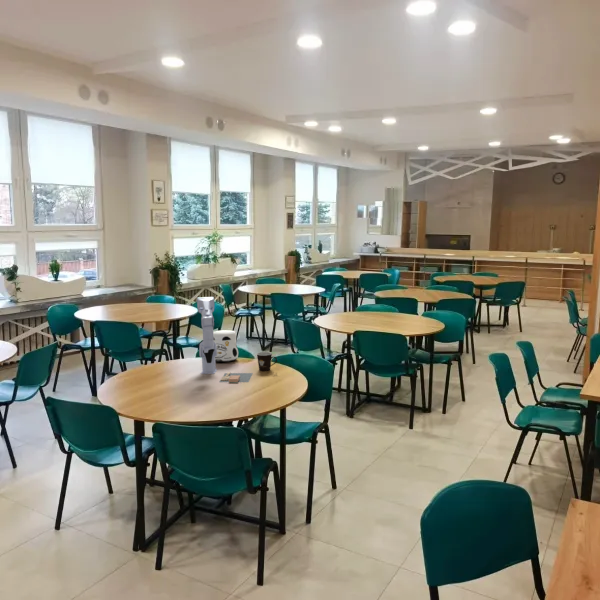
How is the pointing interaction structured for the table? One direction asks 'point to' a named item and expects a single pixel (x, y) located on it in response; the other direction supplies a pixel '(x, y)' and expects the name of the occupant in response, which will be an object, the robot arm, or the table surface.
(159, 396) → the table surface
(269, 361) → the coffee mug
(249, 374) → the mat
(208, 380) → the table surface
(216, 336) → the milk container
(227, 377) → the turner
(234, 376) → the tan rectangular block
